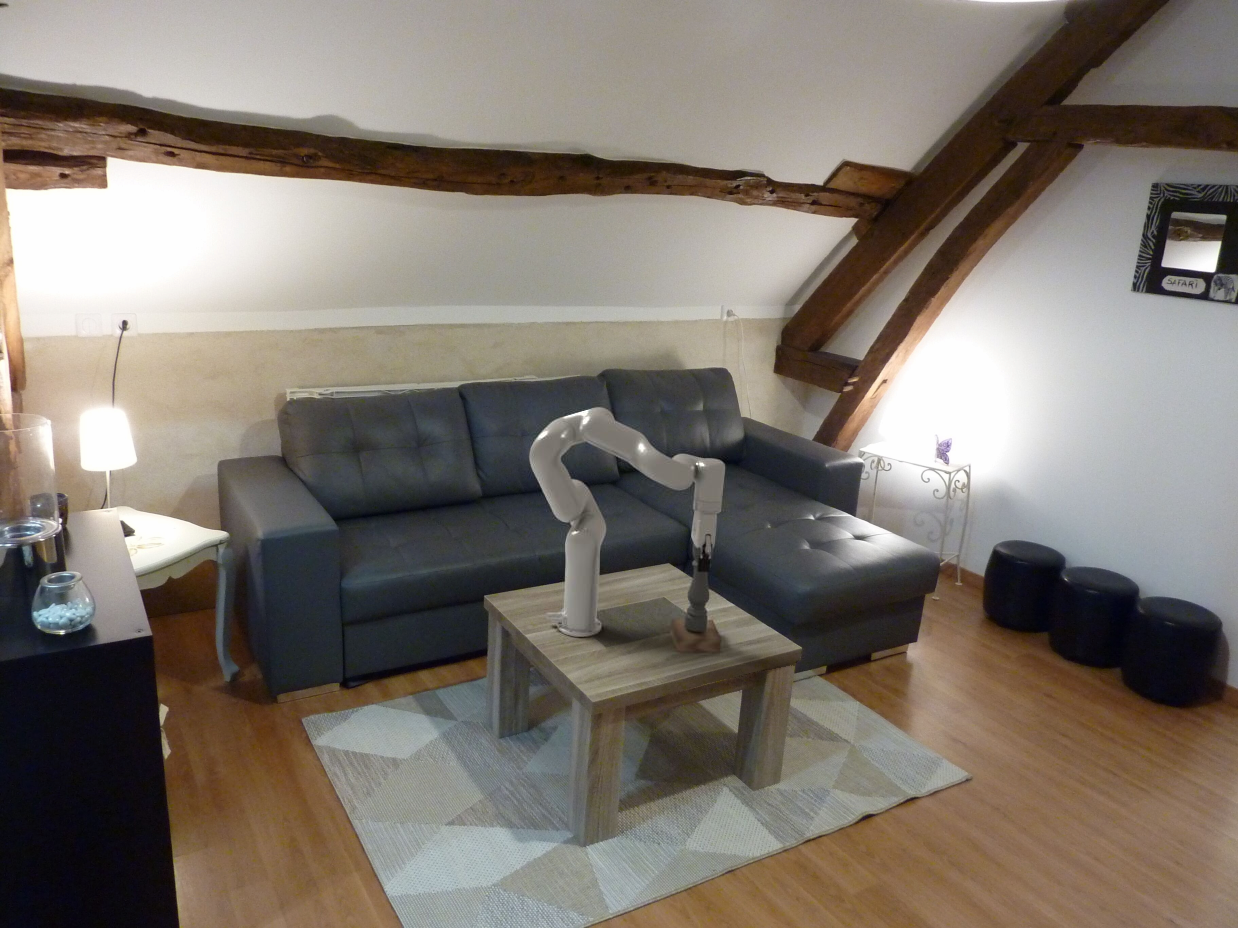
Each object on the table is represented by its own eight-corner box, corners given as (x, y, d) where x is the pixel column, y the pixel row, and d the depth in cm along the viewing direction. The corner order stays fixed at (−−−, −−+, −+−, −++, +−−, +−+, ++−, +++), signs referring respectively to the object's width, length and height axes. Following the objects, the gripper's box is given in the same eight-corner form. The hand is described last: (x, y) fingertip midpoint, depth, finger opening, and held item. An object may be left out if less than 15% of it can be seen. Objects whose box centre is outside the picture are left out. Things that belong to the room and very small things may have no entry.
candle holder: (692, 619, 270) (700, 536, 264) (710, 626, 267) (719, 542, 260) (680, 626, 266) (687, 541, 259) (698, 633, 262) (706, 548, 255)
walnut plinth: (676, 651, 261) (678, 638, 260) (670, 631, 273) (671, 619, 272) (719, 652, 263) (721, 638, 262) (711, 632, 274) (712, 619, 273)
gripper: (688, 494, 264) (682, 555, 269) (699, 514, 248) (692, 579, 253) (714, 495, 265) (708, 555, 270) (727, 515, 249) (720, 579, 254)
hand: (701, 566), depth 261 cm, fingers closed on candle holder, 5 cm apart
